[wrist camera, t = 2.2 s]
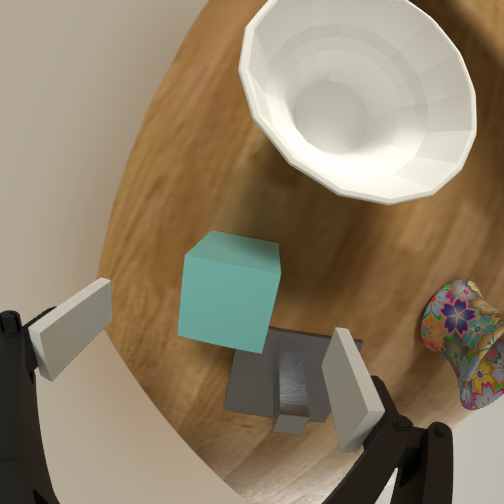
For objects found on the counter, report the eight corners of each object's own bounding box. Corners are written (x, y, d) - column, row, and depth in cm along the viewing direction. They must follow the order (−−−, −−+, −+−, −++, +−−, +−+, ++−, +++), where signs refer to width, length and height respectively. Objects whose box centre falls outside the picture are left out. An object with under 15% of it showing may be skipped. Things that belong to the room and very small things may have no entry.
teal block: (212, 230, 23) (184, 255, 16) (278, 243, 23) (281, 274, 16) (203, 291, 25) (177, 335, 17) (265, 303, 25) (261, 353, 17)
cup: (222, 122, 21) (179, 78, 10) (318, 29, 18) (342, -48, 7) (336, 222, 22) (388, 262, 12) (422, 124, 19) (504, 103, 9)
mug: (398, 341, 25) (441, 410, 15) (439, 260, 22) (509, 305, 12) (464, 357, 25) (505, 408, 15) (499, 291, 23) (554, 330, 12)
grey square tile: (240, 320, 25) (231, 363, 19) (361, 340, 25) (381, 381, 19) (224, 406, 28) (214, 448, 22) (323, 419, 28) (330, 460, 22)
